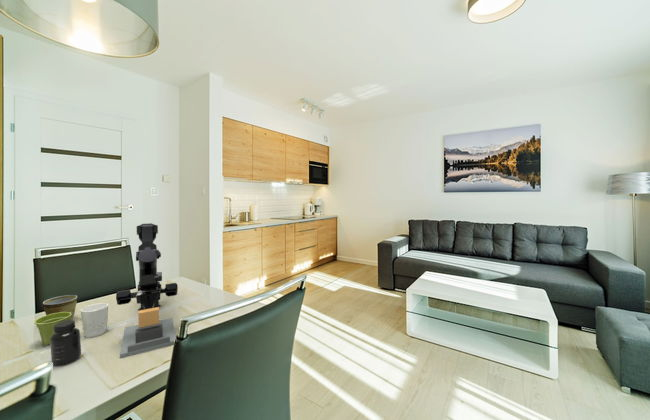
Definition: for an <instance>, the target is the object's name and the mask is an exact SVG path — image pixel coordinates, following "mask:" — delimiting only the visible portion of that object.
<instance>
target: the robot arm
mask: <svg viewBox="0 0 650 420" xmlns="http://www.w3.org/2000/svg"><path fill="white" fill-rule="evenodd" d="M158 227H159V225H158V224H154V223H151V222H150V223H141V224H139V225H136V236H138V239H139V241H140V242H141V244H140V245H139V246H138V250H137V251H136V253H135V261H136V262H138V268H139V270H138V272H139V275H138V276H139V277H138V279H139V280H138V284H137V291H135V292H131V289H123V290H118V291H116V295H115V300H116V304H117V305H118V306H121V305H126V304H128V305H129V304H130V302H131V301H132V299H136V300H135V301H136V304H139V305H140V307H139V308H138V309H137V311H140V310H145V309H151V308H156V307H159V308H160V307H161V304H159V301H160V300H161V295H162V294H165V296H166V297H169V298H170V297H174V296H177V295H178V291H179V290H178V287H179V286H178V283H176V282H171V283H165V286H164V287H162V284H161V282H162V281H163V275H162V274H163V272H162V271H158V267H157V266H158V260H159V259H160V258H161V257H162V253H161V251H160V250H159V249H158V248H157V244H155V243H154V241H155V240H156V239H157V234H159V229H158Z"/></svg>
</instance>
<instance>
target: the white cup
mask: <svg viewBox="0 0 650 420" xmlns="http://www.w3.org/2000/svg"><path fill="white" fill-rule="evenodd" d="M80 315H81V323H82V324H81V325H82V331H83V336H84V338H95V337H98V336H102V335H104V334H105V333H106V332H107V331H108V323H109V321H108V320H109V304H108V303H106V302H105V303H104V302H102V303H101V302H100V303H92V304H89V305H86V306H84V307H82V308H81V309H80Z"/></svg>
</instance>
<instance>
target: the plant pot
mask: <svg viewBox="0 0 650 420" xmlns="http://www.w3.org/2000/svg"><path fill="white" fill-rule="evenodd" d="M70 316H71V313H70V312H59V313H53V314H49V315H46V314H45V315H43V316H41V317H38V318H37V319H35V320H34V322H33V323H34V325H36V328H38V333H39V335H40V339H41V344H42V345H44V346H48V345H50V338H51V336H52V335H53V334H54V325H56V324H57V323H60V322H63V321H68V320H69V319H70Z"/></svg>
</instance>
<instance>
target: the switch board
mask: <svg viewBox="0 0 650 420" xmlns="http://www.w3.org/2000/svg"><path fill="white" fill-rule="evenodd" d="M159 322H161V325H160V326H155V327H151V328H146V329H141V330H137V327H138V326H139V324H134V325H130V326H125V327H124V333H123V336H122V340H121V341H122V343H121V348H120V353H119V358H120V359H121V358H122V359H123V358H126V357H129V356H134V355H137V354H142V353H145V352H149V351H153V350H154V351H155V350H157V349H162V348H165V347H169V346H173V344H174V340H175V338H176V339H177V335H176V330H175V325H174V320H173V317H168V318H164V319H159ZM174 345H175V344H174Z"/></svg>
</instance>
